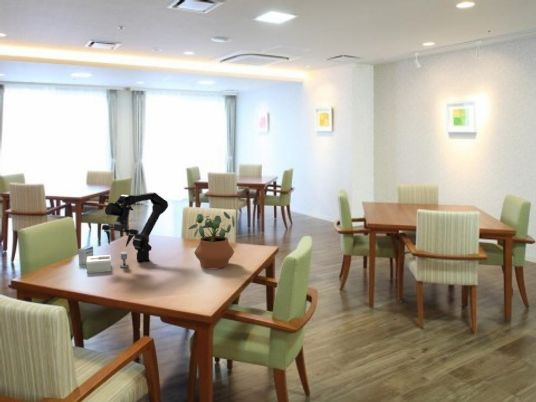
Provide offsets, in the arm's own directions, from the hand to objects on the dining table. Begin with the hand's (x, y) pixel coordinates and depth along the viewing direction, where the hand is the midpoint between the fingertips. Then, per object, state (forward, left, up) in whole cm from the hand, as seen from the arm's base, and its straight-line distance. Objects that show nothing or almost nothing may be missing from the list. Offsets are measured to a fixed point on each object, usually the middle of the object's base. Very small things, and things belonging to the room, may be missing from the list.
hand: (117, 245), depth 244 cm
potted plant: (-49, +10, -12) cm, 52 cm away
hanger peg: (-3, 0, -12) cm, 13 cm away
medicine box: (+17, -16, -13) cm, 26 cm away
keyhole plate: (+10, 0, -12) cm, 16 cm away
